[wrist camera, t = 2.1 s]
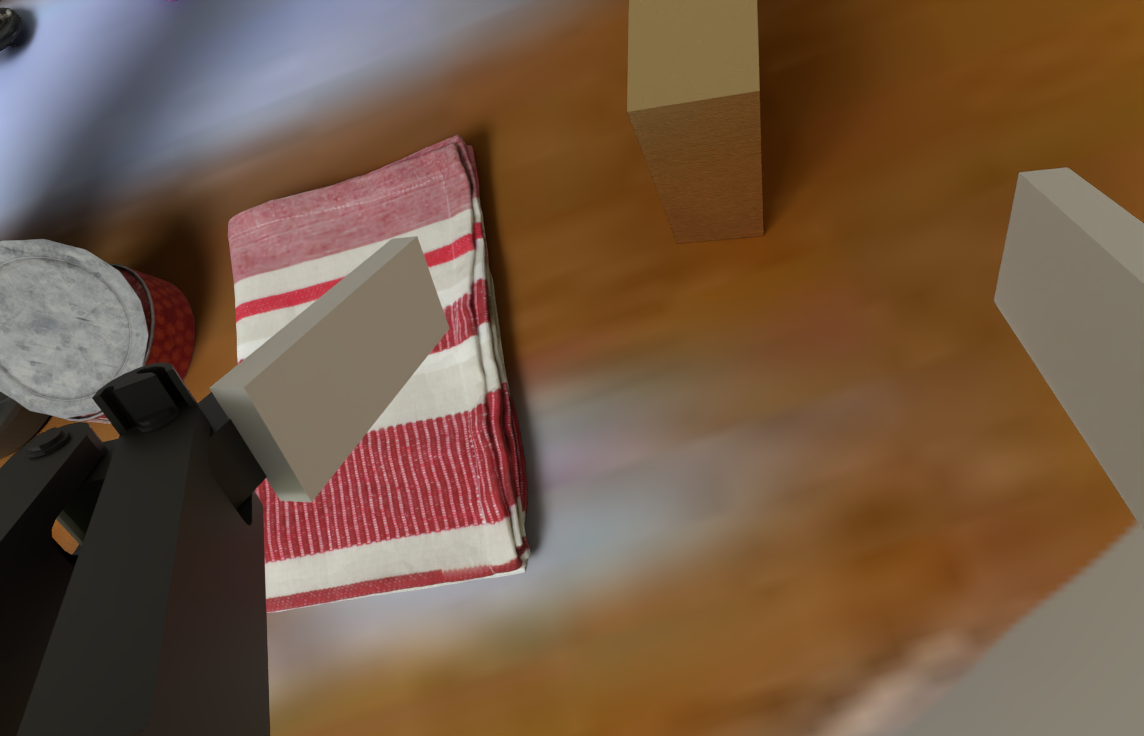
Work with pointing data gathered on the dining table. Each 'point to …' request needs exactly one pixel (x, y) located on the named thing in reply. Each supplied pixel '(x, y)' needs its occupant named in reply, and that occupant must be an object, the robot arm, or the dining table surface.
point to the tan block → (699, 112)
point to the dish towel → (418, 412)
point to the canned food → (82, 326)
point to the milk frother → (9, 27)
